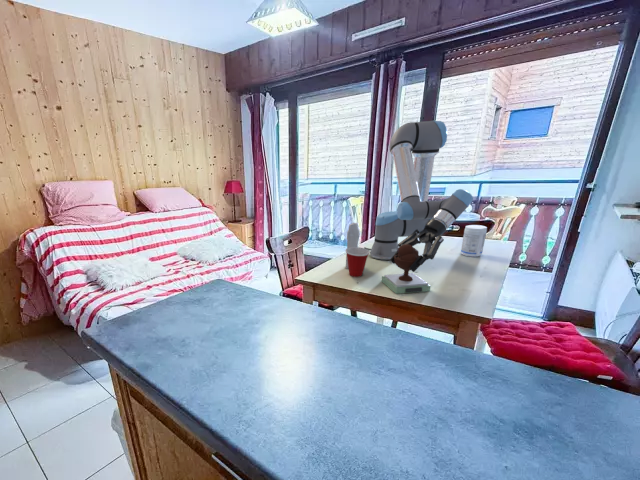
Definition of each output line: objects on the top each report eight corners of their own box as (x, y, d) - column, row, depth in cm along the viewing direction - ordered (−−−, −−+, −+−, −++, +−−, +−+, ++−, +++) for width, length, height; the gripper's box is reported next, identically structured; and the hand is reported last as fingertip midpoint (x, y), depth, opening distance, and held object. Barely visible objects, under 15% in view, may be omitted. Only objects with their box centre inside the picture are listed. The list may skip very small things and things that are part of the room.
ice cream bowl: (416, 285, 129) (421, 249, 123) (387, 280, 135) (391, 245, 130) (423, 277, 137) (427, 242, 131) (395, 272, 143) (398, 239, 137)
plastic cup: (355, 280, 146) (357, 255, 141) (339, 274, 155) (340, 249, 150) (373, 275, 150) (375, 250, 146) (356, 269, 159) (358, 245, 155)
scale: (381, 281, 144) (382, 274, 142) (412, 279, 144) (413, 272, 143) (396, 294, 130) (397, 287, 129) (431, 292, 130) (432, 284, 129)
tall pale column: (353, 262, 169) (355, 220, 161) (360, 264, 167) (363, 221, 158) (342, 267, 163) (344, 224, 154) (349, 269, 160) (351, 225, 152)
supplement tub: (471, 251, 176) (476, 224, 170) (486, 255, 167) (492, 227, 162) (455, 253, 174) (460, 225, 169) (470, 258, 166) (476, 229, 160)
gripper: (467, 235, 122) (427, 280, 124) (422, 225, 143) (388, 263, 145) (458, 223, 119) (417, 268, 121) (413, 213, 140) (378, 253, 142)
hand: (401, 265), depth 133 cm, fingers closed on ice cream bowl, 11 cm apart
